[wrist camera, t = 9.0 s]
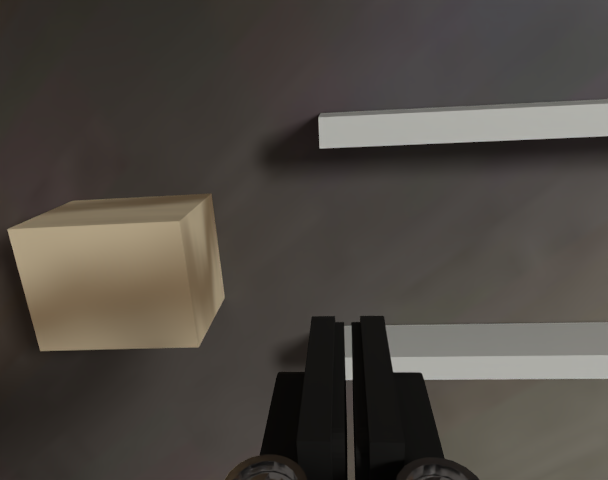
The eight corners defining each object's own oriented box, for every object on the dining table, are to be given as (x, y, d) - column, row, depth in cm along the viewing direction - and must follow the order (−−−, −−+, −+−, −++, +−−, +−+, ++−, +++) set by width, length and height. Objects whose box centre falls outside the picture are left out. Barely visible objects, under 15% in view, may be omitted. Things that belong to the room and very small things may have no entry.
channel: (320, 113, 21) (318, 117, 18) (698, 94, 20) (758, 96, 17) (329, 346, 25) (328, 380, 22) (648, 342, 24) (692, 378, 21)
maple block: (74, 200, 23) (7, 229, 19) (211, 192, 23) (179, 220, 18) (96, 301, 25) (40, 351, 20) (225, 296, 24) (198, 347, 20)
